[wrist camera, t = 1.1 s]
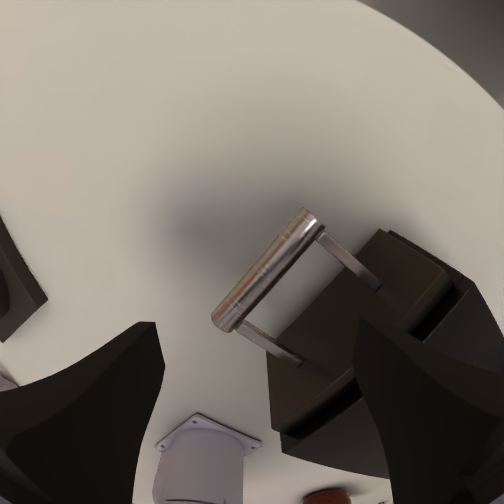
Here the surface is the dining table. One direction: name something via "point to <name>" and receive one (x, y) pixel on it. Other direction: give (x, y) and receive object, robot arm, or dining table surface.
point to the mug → (328, 497)
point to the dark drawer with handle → (330, 314)
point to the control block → (15, 288)
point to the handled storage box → (354, 406)
